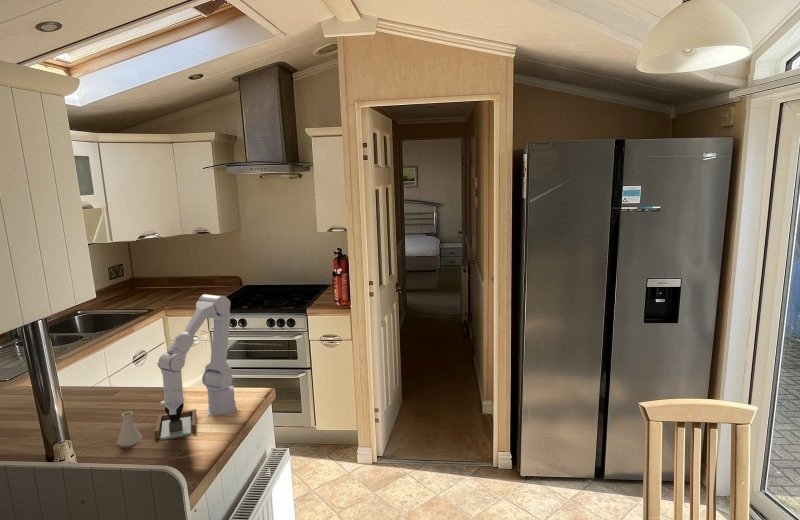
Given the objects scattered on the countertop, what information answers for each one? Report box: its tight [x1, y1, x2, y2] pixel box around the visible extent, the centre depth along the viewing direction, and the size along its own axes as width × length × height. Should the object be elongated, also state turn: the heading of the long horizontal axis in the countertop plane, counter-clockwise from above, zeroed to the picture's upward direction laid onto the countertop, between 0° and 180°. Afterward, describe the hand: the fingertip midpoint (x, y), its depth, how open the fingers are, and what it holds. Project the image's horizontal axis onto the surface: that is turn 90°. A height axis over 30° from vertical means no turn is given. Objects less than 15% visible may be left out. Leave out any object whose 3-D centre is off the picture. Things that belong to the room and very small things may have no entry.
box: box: [154, 408, 198, 440], centre depth 171 cm, size 12×13×3 cm
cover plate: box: [160, 416, 192, 441], centre depth 168 cm, size 9×10×4 cm
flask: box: [115, 411, 143, 448], centre depth 161 cm, size 7×7×10 cm
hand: (175, 426), depth 167 cm, fingers closed, pressing on cover plate
